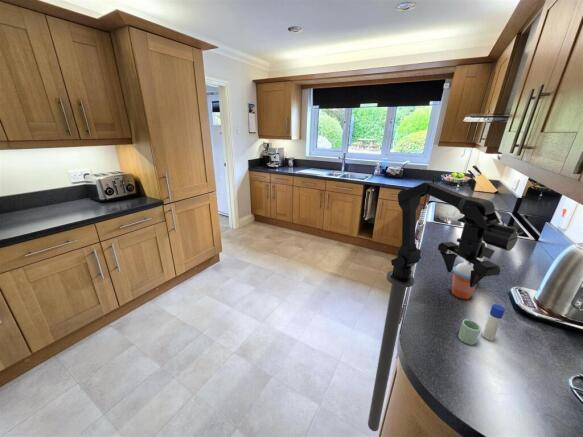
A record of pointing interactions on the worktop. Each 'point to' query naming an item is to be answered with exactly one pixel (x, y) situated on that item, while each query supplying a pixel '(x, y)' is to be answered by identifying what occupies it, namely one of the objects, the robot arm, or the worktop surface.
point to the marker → (493, 321)
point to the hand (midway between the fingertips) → (460, 279)
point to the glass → (469, 331)
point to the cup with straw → (462, 280)
